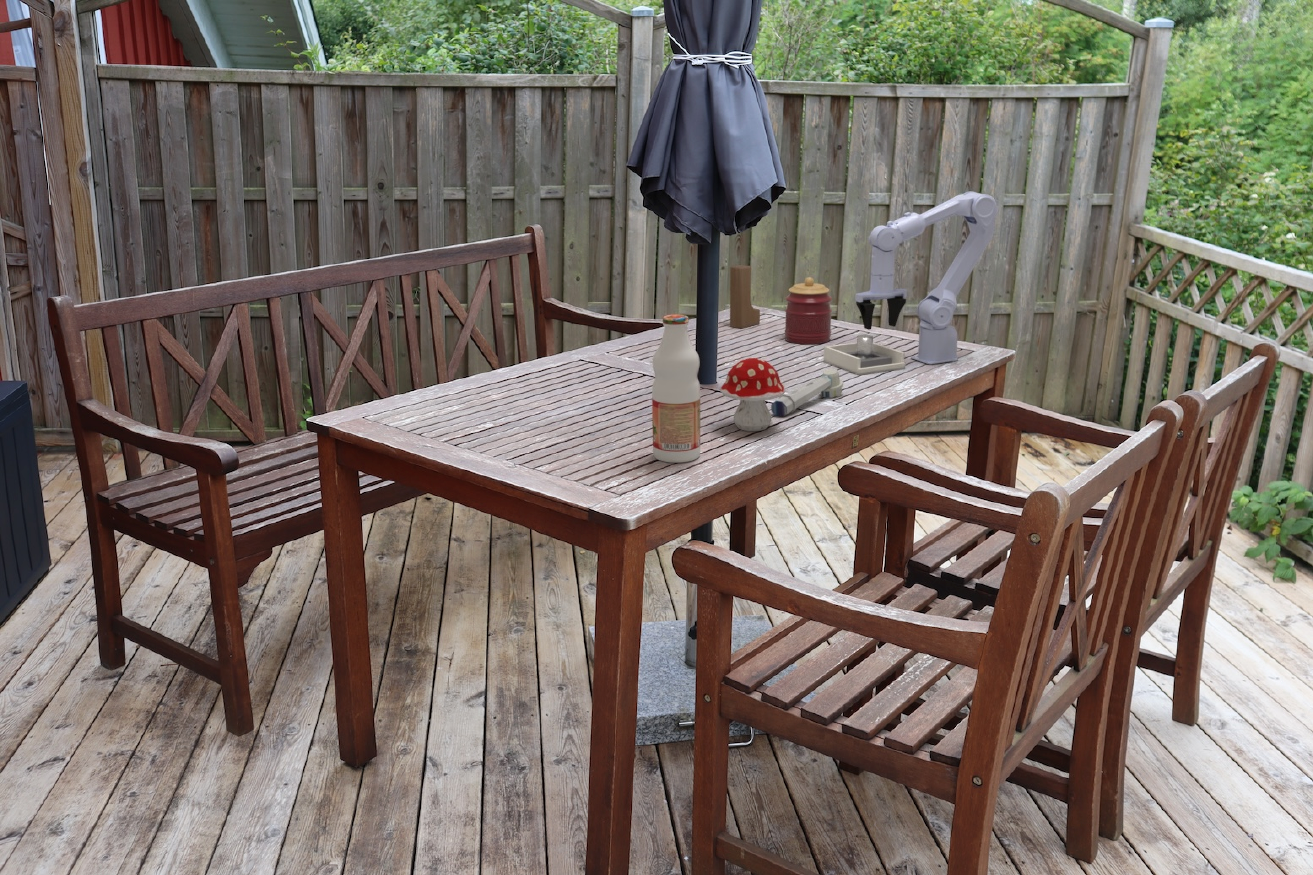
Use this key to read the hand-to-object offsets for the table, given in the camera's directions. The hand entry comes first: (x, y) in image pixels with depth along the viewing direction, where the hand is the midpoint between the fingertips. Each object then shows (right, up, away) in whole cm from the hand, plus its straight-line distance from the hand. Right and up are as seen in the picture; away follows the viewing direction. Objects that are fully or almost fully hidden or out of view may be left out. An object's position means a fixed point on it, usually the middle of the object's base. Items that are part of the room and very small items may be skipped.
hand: (879, 327), depth 300 cm
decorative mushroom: (-37, -26, -50) cm, 67 cm away
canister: (-15, -1, +30) cm, 33 cm away
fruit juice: (-53, -32, -68) cm, 92 cm away
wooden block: (-31, +5, +49) cm, 58 cm away
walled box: (-4, -10, +1) cm, 10 cm away
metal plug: (-4, -9, +1) cm, 10 cm away
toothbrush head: (-23, -21, -33) cm, 45 cm away
